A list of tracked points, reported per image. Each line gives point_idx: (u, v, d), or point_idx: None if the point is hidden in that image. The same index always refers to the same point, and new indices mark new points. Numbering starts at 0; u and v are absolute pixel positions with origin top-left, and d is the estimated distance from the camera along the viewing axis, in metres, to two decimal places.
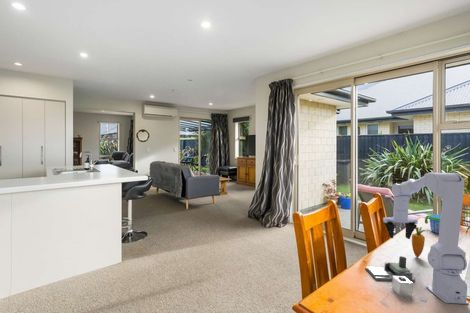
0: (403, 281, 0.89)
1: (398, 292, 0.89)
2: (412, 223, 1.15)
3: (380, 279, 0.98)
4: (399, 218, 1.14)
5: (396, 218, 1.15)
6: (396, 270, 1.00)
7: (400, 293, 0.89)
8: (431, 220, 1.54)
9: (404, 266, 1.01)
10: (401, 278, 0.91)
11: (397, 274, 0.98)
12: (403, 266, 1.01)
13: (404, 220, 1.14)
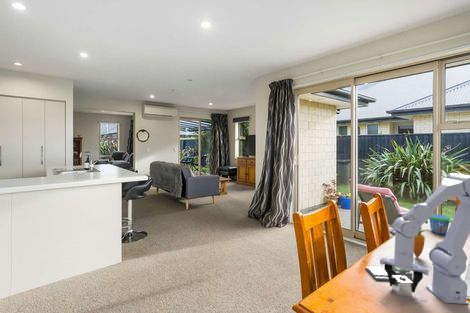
0: (403, 281, 0.89)
1: (398, 292, 0.89)
2: (418, 273, 0.87)
3: (380, 279, 0.98)
4: (397, 262, 0.89)
5: (395, 261, 0.90)
6: (396, 270, 1.00)
7: (400, 293, 0.89)
8: (431, 220, 1.54)
9: None
10: (401, 278, 0.91)
11: (397, 274, 0.98)
12: None
13: (404, 266, 0.88)
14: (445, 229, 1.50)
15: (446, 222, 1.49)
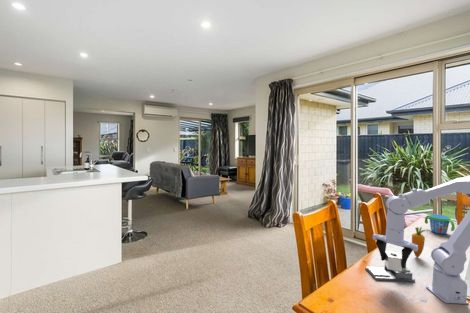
0: (393, 256, 0.93)
1: (387, 266, 0.94)
2: (407, 248, 0.90)
3: (380, 279, 0.98)
4: (387, 237, 0.94)
5: (385, 237, 0.95)
6: None
7: (389, 267, 0.93)
8: (431, 220, 1.54)
9: None
10: (392, 254, 0.95)
11: (397, 274, 0.98)
12: None
13: (392, 241, 0.92)
14: (445, 229, 1.50)
15: (446, 222, 1.49)
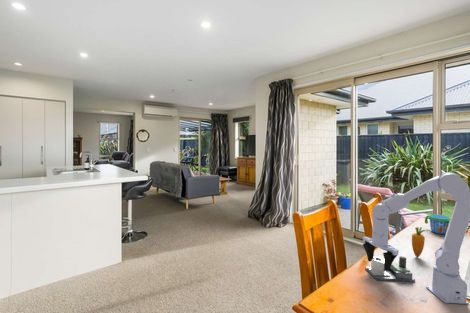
0: (376, 260, 1.02)
1: (371, 268, 1.03)
2: (389, 252, 0.97)
3: (380, 279, 0.98)
4: (372, 240, 1.03)
5: (372, 240, 1.04)
6: (396, 270, 1.00)
7: (372, 269, 1.02)
8: (431, 220, 1.54)
9: (404, 266, 1.01)
10: (377, 258, 1.03)
11: (397, 274, 0.98)
12: (403, 266, 1.01)
13: (375, 244, 1.01)
14: (445, 229, 1.50)
15: (446, 222, 1.49)
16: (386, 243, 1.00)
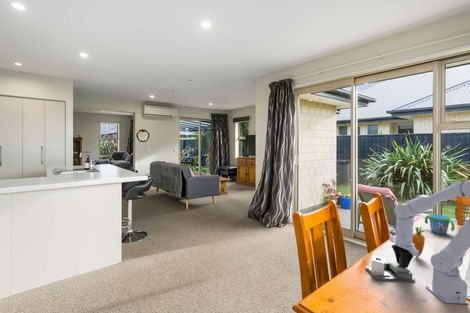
0: (376, 260, 1.02)
1: (371, 268, 1.03)
2: (405, 250, 0.99)
3: (380, 279, 0.98)
4: (395, 239, 1.03)
5: None
6: (396, 270, 1.00)
7: (372, 269, 1.02)
8: (431, 220, 1.54)
9: None
10: (377, 258, 1.03)
11: (397, 274, 0.98)
12: None
13: (396, 243, 1.01)
14: (445, 229, 1.50)
15: (446, 222, 1.49)
16: (408, 243, 0.99)
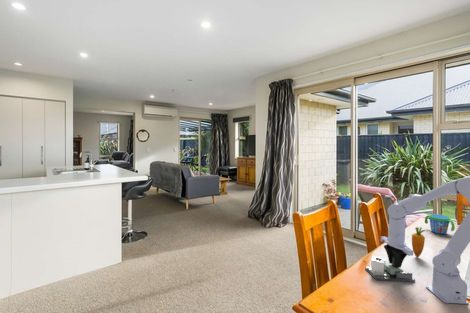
0: (376, 260, 1.02)
1: (371, 268, 1.03)
2: (399, 250, 0.99)
3: (380, 279, 0.98)
4: (388, 240, 1.03)
5: None
6: (389, 270, 1.01)
7: (372, 269, 1.02)
8: (431, 220, 1.54)
9: None
10: (377, 258, 1.03)
11: (397, 274, 0.98)
12: None
13: (390, 243, 1.01)
14: (445, 229, 1.50)
15: (446, 222, 1.49)
16: (402, 243, 0.99)
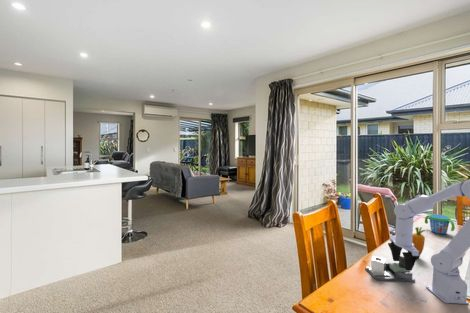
0: (376, 260, 1.02)
1: (371, 268, 1.03)
2: (409, 253, 0.97)
3: (380, 279, 0.98)
4: (395, 239, 1.03)
5: None
6: (396, 270, 1.00)
7: (372, 269, 1.02)
8: (431, 220, 1.54)
9: (404, 266, 1.01)
10: (377, 258, 1.03)
11: (397, 274, 0.98)
12: (403, 266, 1.01)
13: (396, 243, 1.01)
14: (445, 229, 1.50)
15: (446, 222, 1.49)
16: (408, 243, 0.99)
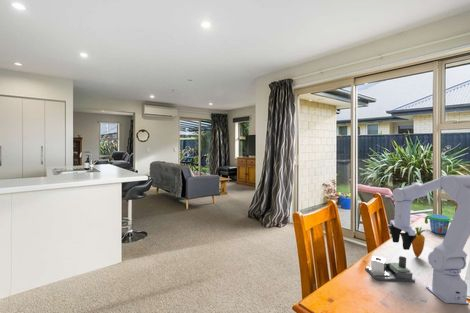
0: (376, 260, 1.02)
1: (371, 268, 1.03)
2: (406, 233, 1.04)
3: (380, 279, 0.98)
4: (394, 222, 1.11)
5: None
6: (396, 270, 1.00)
7: (372, 269, 1.02)
8: (431, 220, 1.54)
9: (404, 266, 1.01)
10: (377, 258, 1.03)
11: (397, 274, 0.98)
12: (403, 266, 1.01)
13: (395, 225, 1.09)
14: (445, 229, 1.50)
15: (446, 222, 1.49)
16: (406, 225, 1.06)
